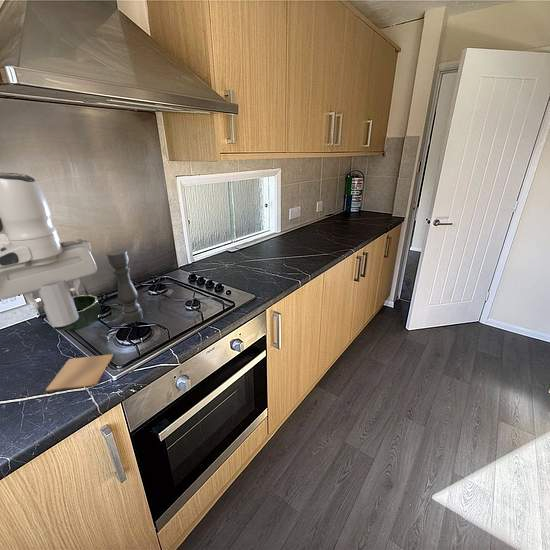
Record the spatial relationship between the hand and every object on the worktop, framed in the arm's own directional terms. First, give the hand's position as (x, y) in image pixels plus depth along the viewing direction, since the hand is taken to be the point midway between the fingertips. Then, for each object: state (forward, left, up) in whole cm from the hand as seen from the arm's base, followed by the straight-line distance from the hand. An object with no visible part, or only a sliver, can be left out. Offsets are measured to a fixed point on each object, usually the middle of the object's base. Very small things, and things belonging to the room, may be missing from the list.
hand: (57, 300), depth 72 cm
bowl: (-13, +28, -21) cm, 38 cm away
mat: (+1, -2, -21) cm, 21 cm away
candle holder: (+7, +24, -21) cm, 33 cm away
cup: (0, 0, -6) cm, 6 cm away
